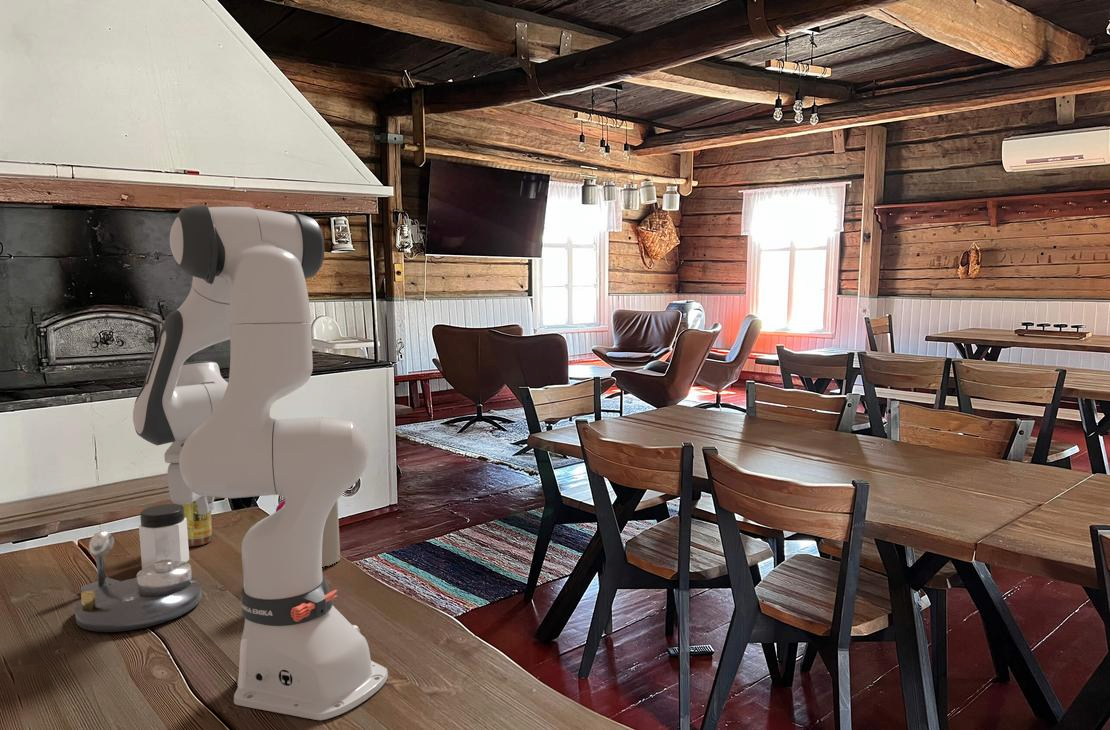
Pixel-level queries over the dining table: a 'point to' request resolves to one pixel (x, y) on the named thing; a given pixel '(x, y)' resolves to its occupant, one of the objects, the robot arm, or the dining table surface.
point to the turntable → (132, 606)
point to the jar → (163, 534)
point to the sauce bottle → (197, 525)
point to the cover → (164, 577)
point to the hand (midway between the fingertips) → (206, 512)
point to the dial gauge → (100, 559)
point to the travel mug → (331, 538)
